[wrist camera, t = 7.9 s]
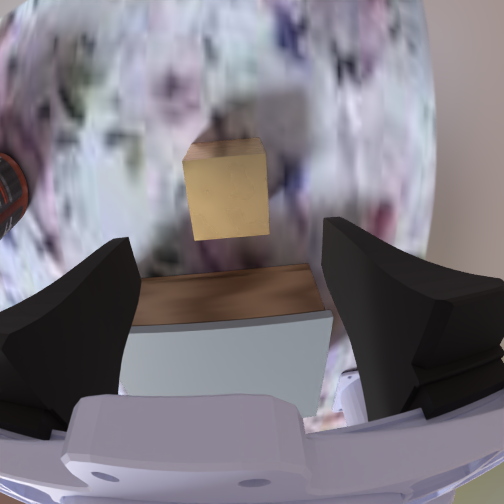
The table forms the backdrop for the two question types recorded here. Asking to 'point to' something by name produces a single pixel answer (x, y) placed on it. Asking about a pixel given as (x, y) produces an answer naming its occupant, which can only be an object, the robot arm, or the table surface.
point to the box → (227, 296)
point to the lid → (232, 358)
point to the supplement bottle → (11, 194)
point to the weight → (227, 188)
